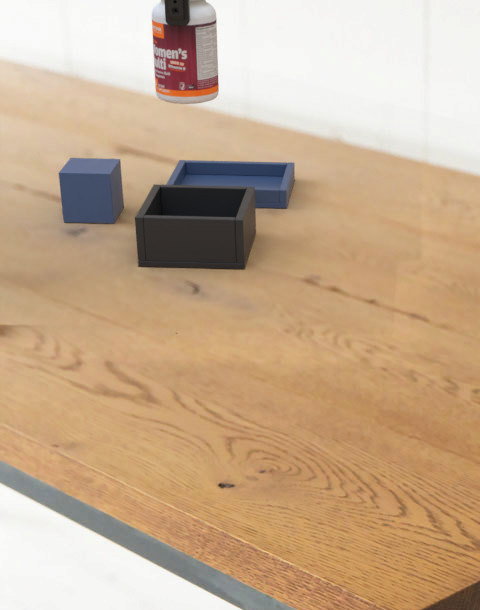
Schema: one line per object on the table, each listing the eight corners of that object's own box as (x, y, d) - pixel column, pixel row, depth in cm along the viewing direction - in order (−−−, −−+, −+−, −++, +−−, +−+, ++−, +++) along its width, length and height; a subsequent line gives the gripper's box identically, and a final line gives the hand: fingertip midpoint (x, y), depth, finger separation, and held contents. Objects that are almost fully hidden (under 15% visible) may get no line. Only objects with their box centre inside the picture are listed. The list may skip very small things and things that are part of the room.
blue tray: (165, 205, 151) (164, 187, 150) (180, 177, 160) (179, 159, 159) (286, 208, 150) (286, 190, 149) (294, 179, 159) (294, 162, 158)
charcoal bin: (138, 266, 134) (134, 217, 131) (156, 230, 143) (153, 184, 141) (244, 269, 134) (242, 219, 131) (256, 233, 143) (254, 186, 140)
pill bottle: (143, 100, 131) (135, -22, 126) (180, 87, 136) (174, -31, 130) (196, 108, 129) (190, -16, 123) (231, 95, 133) (227, -25, 128)
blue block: (63, 222, 145) (58, 172, 143) (74, 206, 150) (70, 157, 147) (114, 223, 145) (110, 173, 142) (124, 207, 150) (120, 158, 147)
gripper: (146, -182, 127) (157, 3, 135) (117, -171, 114) (130, 32, 122) (226, -181, 127) (231, 4, 135) (205, -170, 114) (212, 34, 122)
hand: (183, 17), depth 129 cm, fingers closed on pill bottle, 6 cm apart
